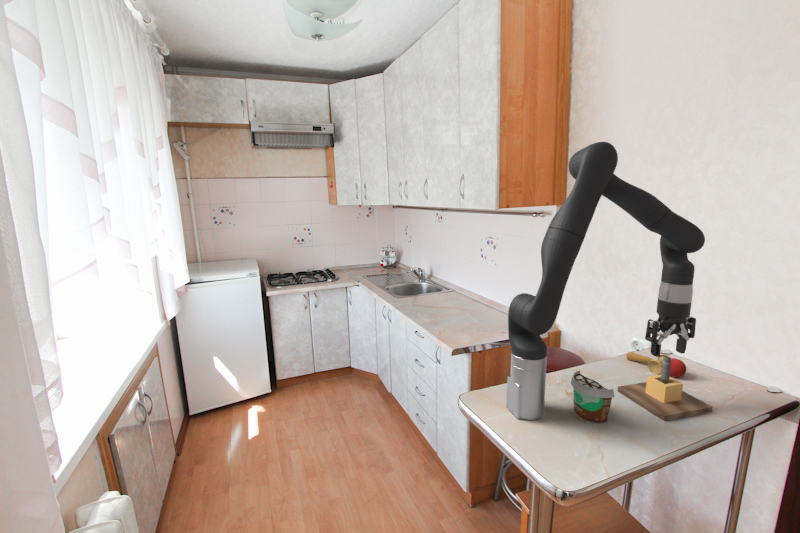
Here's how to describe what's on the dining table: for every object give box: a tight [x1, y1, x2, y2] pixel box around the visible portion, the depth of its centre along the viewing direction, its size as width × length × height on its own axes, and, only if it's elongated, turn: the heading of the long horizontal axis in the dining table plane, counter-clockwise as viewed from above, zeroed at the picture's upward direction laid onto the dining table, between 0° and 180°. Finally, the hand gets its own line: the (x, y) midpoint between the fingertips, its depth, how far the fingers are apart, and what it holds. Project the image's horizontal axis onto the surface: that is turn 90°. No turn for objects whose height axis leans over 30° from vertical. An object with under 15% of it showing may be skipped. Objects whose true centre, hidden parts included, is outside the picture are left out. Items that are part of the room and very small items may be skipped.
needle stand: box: [617, 357, 714, 422], centre depth 109 cm, size 16×16×14 cm
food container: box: [570, 370, 615, 424], centre depth 104 cm, size 12×6×10 cm, turn 19°
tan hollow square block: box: [645, 374, 684, 403], centre depth 110 cm, size 6×6×5 cm
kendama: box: [626, 351, 687, 378], centre depth 129 cm, size 8×6×18 cm
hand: (667, 354), depth 107 cm, fingers open, 8 cm apart
